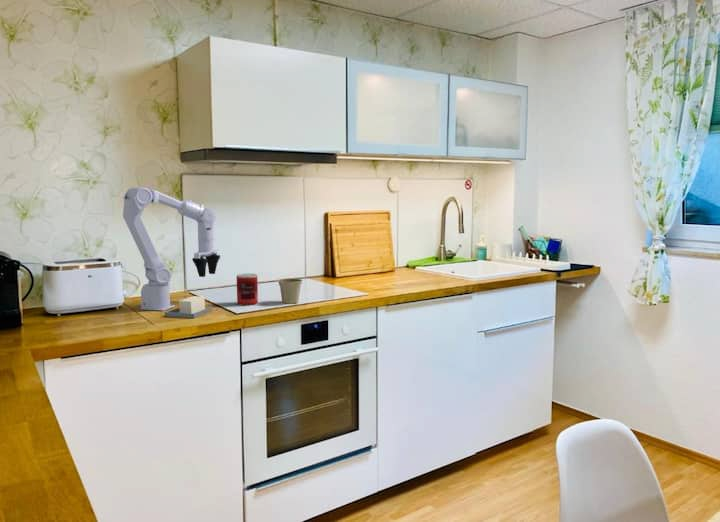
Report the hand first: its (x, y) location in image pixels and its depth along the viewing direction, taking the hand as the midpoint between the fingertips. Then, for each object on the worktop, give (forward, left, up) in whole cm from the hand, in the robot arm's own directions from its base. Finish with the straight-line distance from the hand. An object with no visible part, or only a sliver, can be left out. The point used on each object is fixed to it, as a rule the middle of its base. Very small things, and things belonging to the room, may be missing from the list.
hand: (207, 275), depth 213 cm
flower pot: (+31, +7, -11) cm, 34 cm away
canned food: (+16, +1, -11) cm, 19 cm away
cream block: (+4, -14, -8) cm, 16 cm away
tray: (+4, -20, -10) cm, 23 cm away
